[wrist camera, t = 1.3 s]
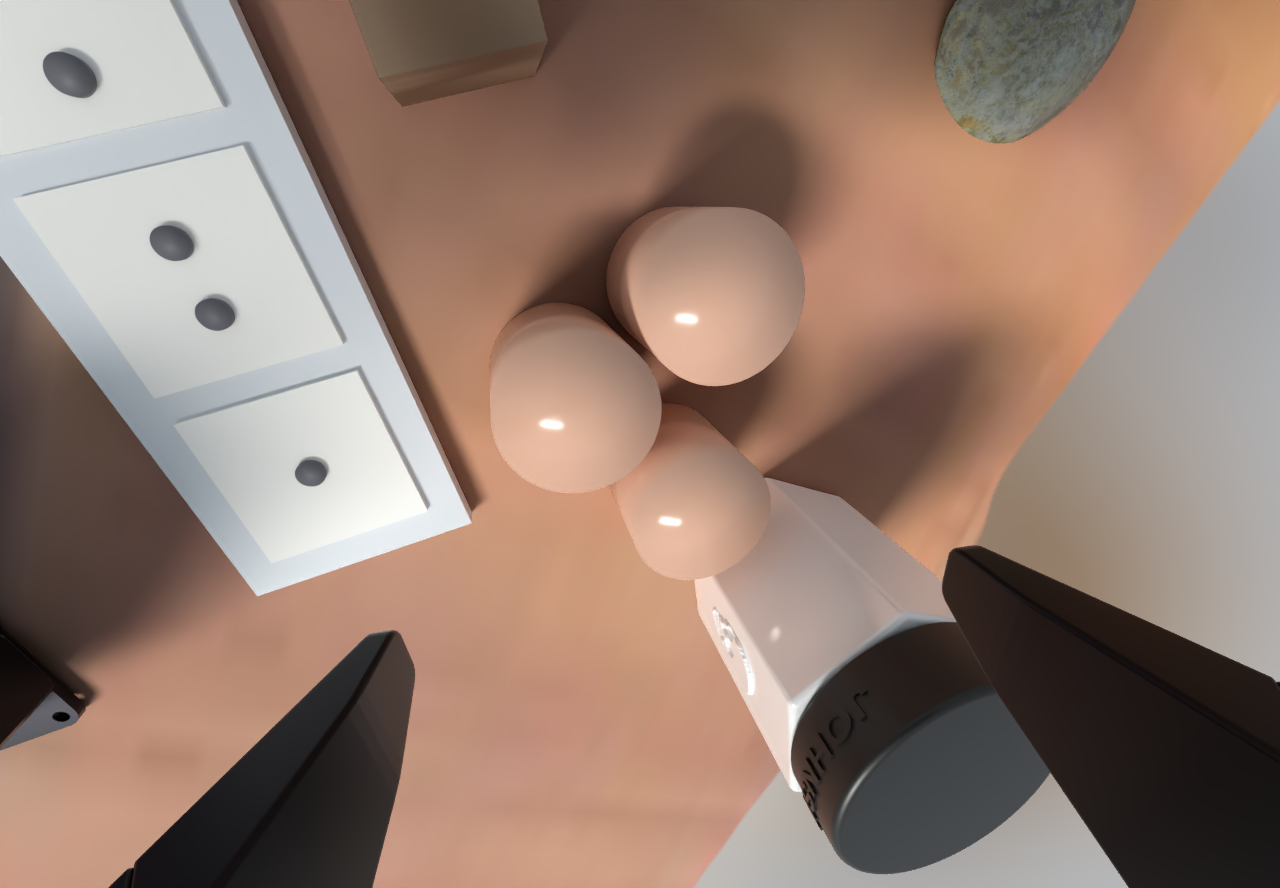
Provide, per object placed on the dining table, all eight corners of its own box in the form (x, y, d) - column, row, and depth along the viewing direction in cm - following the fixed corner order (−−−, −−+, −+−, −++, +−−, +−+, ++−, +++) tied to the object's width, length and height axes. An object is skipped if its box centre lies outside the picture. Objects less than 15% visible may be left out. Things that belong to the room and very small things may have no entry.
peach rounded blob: (624, 363, 20) (662, 406, 16) (590, 226, 18) (622, 234, 14) (743, 326, 21) (811, 358, 17) (724, 190, 19) (796, 186, 14)
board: (265, 582, 20) (253, 603, 19) (-308, -198, 11) (-395, -243, 10) (471, 512, 21) (471, 528, 20) (120, -255, 12) (84, -299, 11)
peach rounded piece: (620, 524, 23) (651, 599, 19) (589, 425, 21) (617, 482, 17) (724, 487, 24) (778, 551, 20) (705, 387, 22) (761, 432, 17)
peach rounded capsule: (516, 449, 21) (524, 514, 16) (468, 325, 18) (462, 362, 14) (637, 409, 21) (676, 462, 17) (604, 285, 19) (640, 309, 15)
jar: (678, 498, 24) (835, 736, 13) (842, 454, 25) (1104, 637, 14) (697, 644, 27) (829, 918, 17) (837, 598, 29) (1041, 826, 18)
